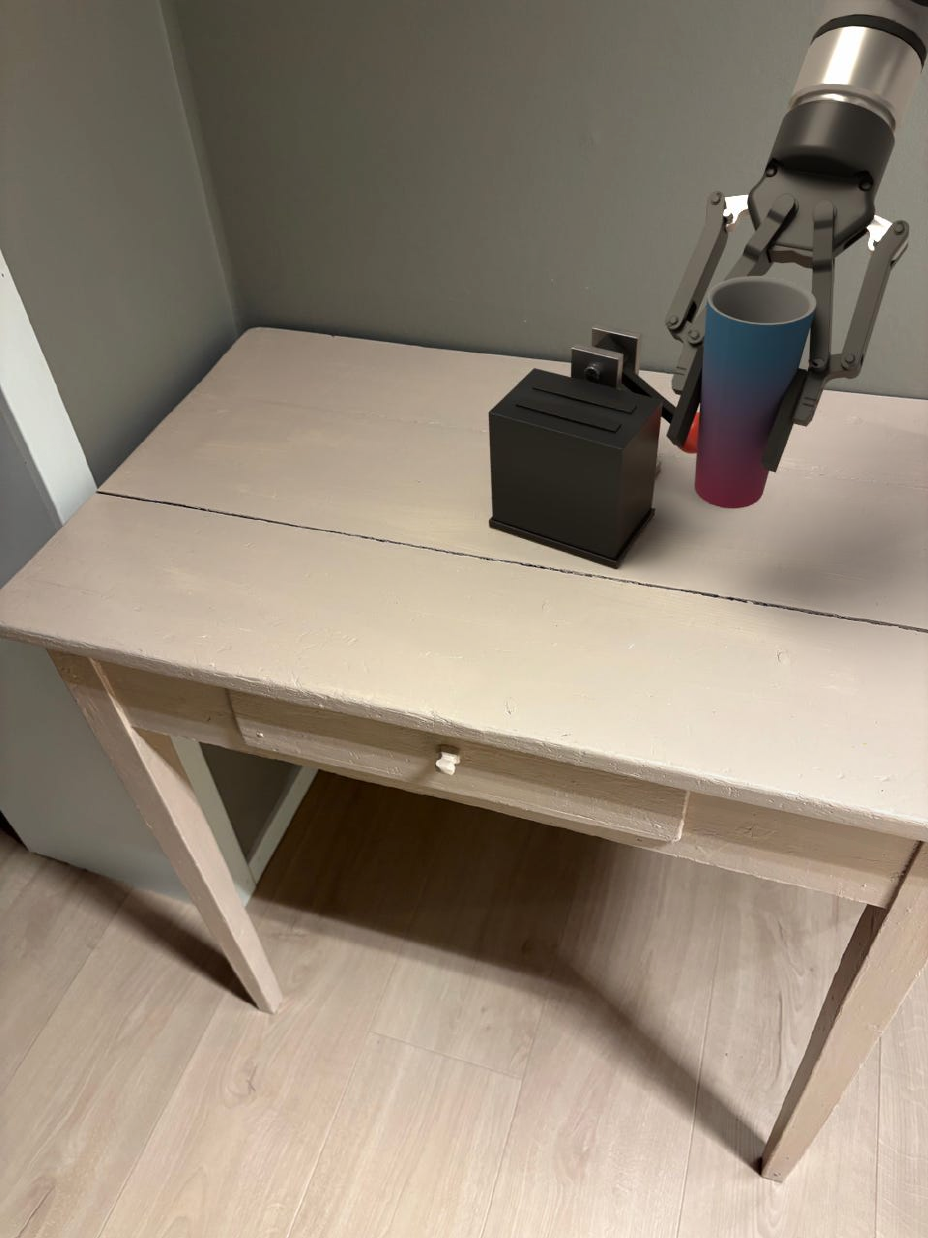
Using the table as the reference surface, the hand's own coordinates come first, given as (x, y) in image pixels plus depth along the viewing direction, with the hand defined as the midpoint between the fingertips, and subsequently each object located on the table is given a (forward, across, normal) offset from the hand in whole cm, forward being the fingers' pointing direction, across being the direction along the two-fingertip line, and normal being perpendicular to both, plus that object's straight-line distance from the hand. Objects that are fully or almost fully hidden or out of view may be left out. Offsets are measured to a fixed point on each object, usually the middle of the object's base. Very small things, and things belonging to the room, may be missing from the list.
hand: (720, 453), depth 66 cm
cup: (+1, 0, -6) cm, 7 cm away
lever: (-5, +12, -16) cm, 21 cm away
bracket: (+1, +15, -22) cm, 27 cm away
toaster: (+6, +14, -16) cm, 23 cm away
